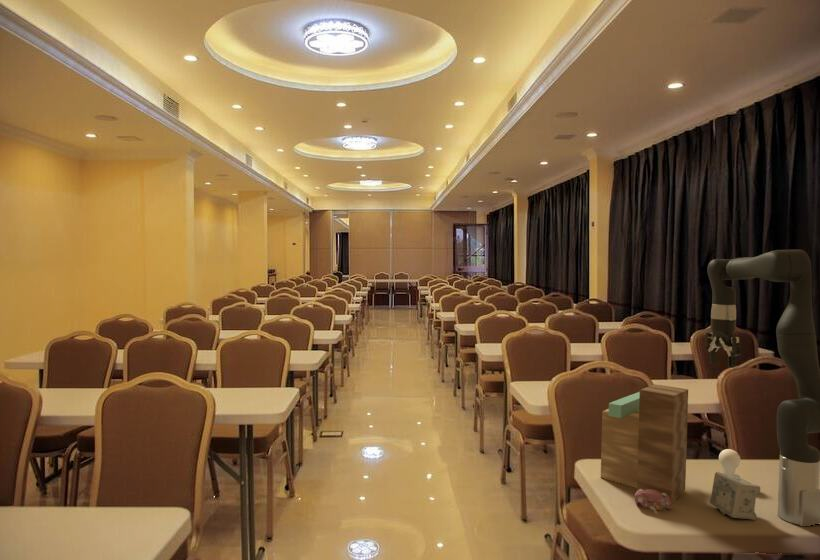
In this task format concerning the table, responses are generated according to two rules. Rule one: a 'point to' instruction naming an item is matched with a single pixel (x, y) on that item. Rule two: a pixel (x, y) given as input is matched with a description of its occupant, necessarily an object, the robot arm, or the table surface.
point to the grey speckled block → (734, 496)
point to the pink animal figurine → (652, 499)
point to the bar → (624, 406)
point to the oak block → (620, 448)
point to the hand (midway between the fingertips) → (722, 365)
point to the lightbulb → (729, 461)
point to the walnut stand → (662, 440)
